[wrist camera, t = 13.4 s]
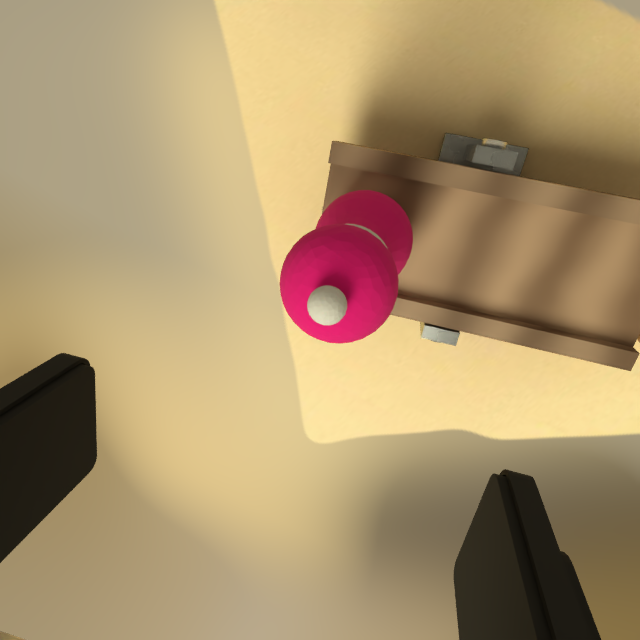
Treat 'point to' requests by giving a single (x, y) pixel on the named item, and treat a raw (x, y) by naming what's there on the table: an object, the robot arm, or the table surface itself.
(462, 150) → the beam stand
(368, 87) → the table surface
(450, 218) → the balance beam
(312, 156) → the table surface
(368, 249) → the pepper mill
